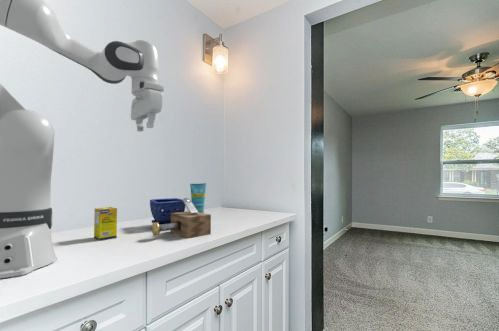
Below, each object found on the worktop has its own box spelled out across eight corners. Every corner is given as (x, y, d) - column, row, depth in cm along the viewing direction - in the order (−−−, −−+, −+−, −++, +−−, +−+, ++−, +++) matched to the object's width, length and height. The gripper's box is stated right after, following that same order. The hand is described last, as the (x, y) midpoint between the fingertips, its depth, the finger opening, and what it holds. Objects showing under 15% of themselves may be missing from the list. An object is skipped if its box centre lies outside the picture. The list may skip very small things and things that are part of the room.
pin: (156, 236, 90) (156, 223, 90) (151, 234, 93) (151, 221, 93) (190, 230, 99) (191, 219, 99) (185, 229, 102) (185, 217, 102)
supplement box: (117, 237, 93) (117, 207, 94) (98, 240, 89) (99, 209, 89) (111, 235, 97) (111, 206, 98) (93, 238, 93) (94, 208, 93)
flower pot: (186, 227, 113) (187, 200, 113) (155, 230, 105) (156, 201, 106) (177, 222, 124) (177, 197, 124) (148, 225, 116) (148, 199, 117)
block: (187, 238, 92) (187, 217, 93) (170, 231, 103) (170, 213, 103) (210, 233, 99) (210, 214, 99) (192, 228, 109) (192, 210, 110)
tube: (191, 227, 112) (192, 183, 113) (188, 225, 116) (188, 183, 117) (207, 225, 116) (207, 183, 117) (203, 223, 120) (203, 183, 121)
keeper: (190, 214, 98) (191, 212, 98) (181, 199, 104) (182, 198, 103) (197, 213, 100) (198, 212, 100) (188, 199, 106) (189, 197, 105)
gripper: (126, 95, 94) (126, 132, 94) (147, 79, 79) (146, 124, 78) (143, 98, 98) (143, 134, 98) (166, 84, 83) (166, 126, 83)
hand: (144, 129), depth 88 cm, fingers open, 8 cm apart
